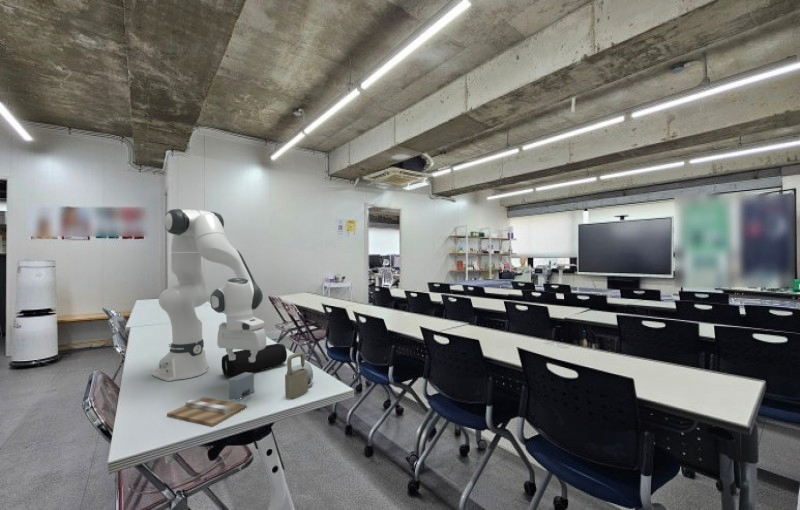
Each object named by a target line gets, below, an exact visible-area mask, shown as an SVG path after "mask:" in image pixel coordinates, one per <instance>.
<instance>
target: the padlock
mask: <svg viewBox="0 0 800 510" xmlns="http://www.w3.org/2000/svg"><path fill="white" fill-rule="evenodd" d="M299 357H300V364H301V365H302V367H304V364H305V362H306V359H305V353H304V352H301V351H299V352H297V353H293V354H290V355H289V356H287V359H286V362H287V363H286V364H287V367H286V368H287V371H288V373H287V371H286V373H285V375H284V384H285V385H284V387H285V388H284V389H285V395H284V396H285V399H289V400H292V398H293V399H295V398H298V397H302V396H303V395H305V394H307V393H308V392H309V388H308V385H309V382H308V372H307V369H304V368H302V369H297V370H294V371H292V367H293V366H292V365H293V364H292V361H293V359H296V358H299ZM307 391H308V392H307Z"/></svg>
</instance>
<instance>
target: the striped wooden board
mask: <svg viewBox="0 0 800 510" xmlns="http://www.w3.org/2000/svg"><path fill="white" fill-rule="evenodd" d="M184 404H185V405H183V406H180V407H178V408H175V409H173V410H170V411H168V412H167V413H166V416H167V417H168V418H173V419H178V420H181V421H186V422H189V423H190V422H191V423H195V424H200V425H202V426H208V427H212V428H213V427H214V426H217V425H218V424H220V423H222V422H224V421H226V420H228V419H229V418H231V417H233V416H235V415H237V414H239V413H241V412H242V411H244V410H246V409H247V408H248V407H247V404H243V403H239V402H238V403H237V402H232V401H226V400H221V399H216V398H210V397H205V396H203V397H201V398H197V399H189V400H187V401H185V403H184ZM246 407H247V408H246ZM245 408H246V409H245ZM243 409H244V410H243ZM241 410H242V411H241ZM238 412H239V413H238ZM236 413H237V414H236ZM234 414H235V415H234Z"/></svg>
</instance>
